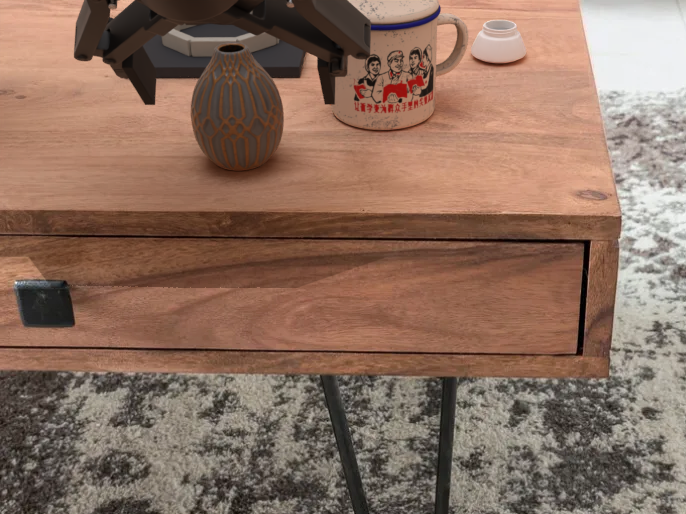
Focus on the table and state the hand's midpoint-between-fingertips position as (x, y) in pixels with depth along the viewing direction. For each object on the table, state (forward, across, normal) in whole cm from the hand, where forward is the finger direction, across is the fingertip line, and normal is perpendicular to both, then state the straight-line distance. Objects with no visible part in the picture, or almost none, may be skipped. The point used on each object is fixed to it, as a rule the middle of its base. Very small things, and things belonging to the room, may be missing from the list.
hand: (240, 88), depth 79 cm
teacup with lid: (+10, +12, +2) cm, 15 cm away
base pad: (+20, -5, +13) cm, 24 cm away
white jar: (+18, +21, +11) cm, 30 cm away
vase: (+2, 0, -5) cm, 6 cm away
